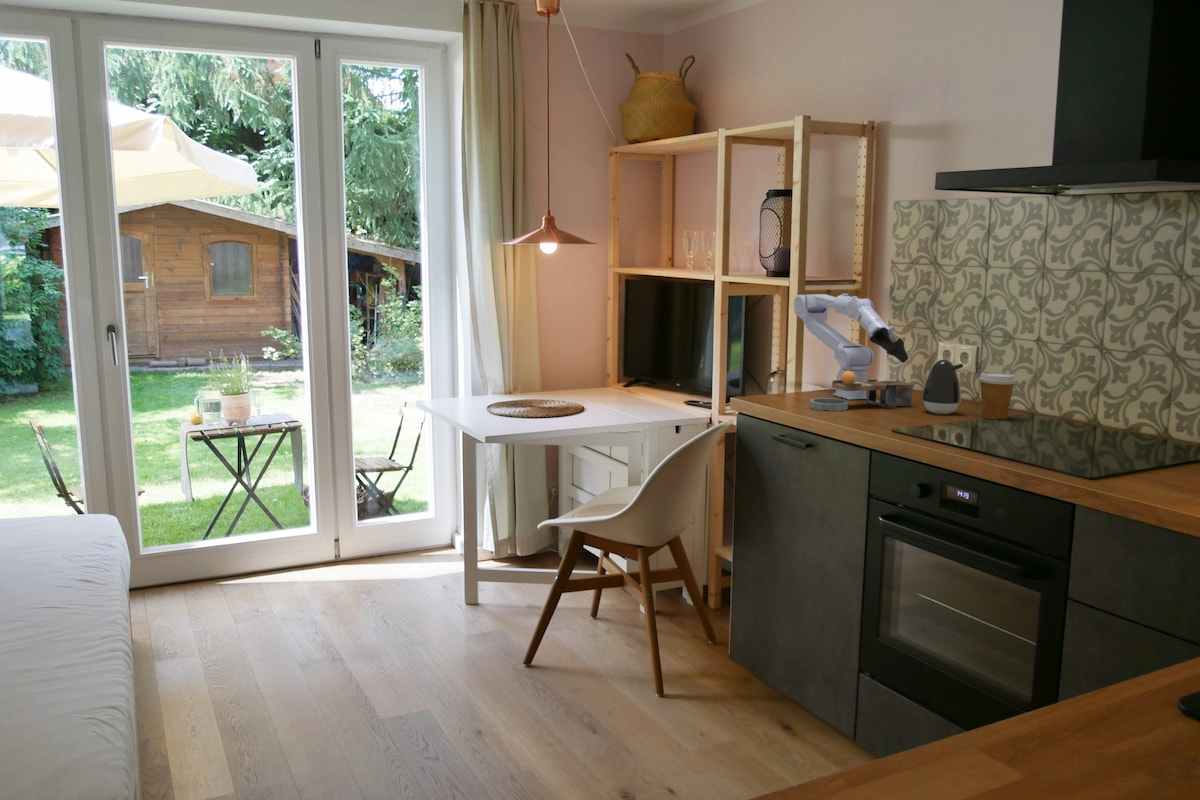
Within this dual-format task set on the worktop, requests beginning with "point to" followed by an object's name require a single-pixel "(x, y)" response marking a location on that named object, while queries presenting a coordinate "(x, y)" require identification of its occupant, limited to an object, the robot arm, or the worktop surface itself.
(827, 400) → the dish
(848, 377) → the ball
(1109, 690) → the worktop surface
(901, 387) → the lever
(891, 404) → the lever stand
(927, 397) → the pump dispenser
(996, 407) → the disposable coffee cup
